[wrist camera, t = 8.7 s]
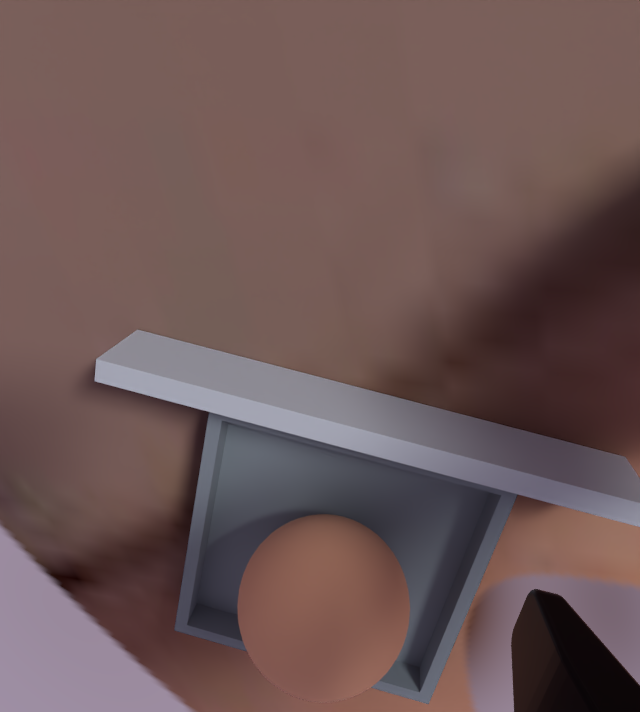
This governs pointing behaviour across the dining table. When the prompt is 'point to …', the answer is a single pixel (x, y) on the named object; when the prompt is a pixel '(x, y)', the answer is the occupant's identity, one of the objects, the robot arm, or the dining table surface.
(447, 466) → the wall
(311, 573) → the ball
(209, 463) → the grey square tray
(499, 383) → the dining table surface
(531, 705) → the robot arm
